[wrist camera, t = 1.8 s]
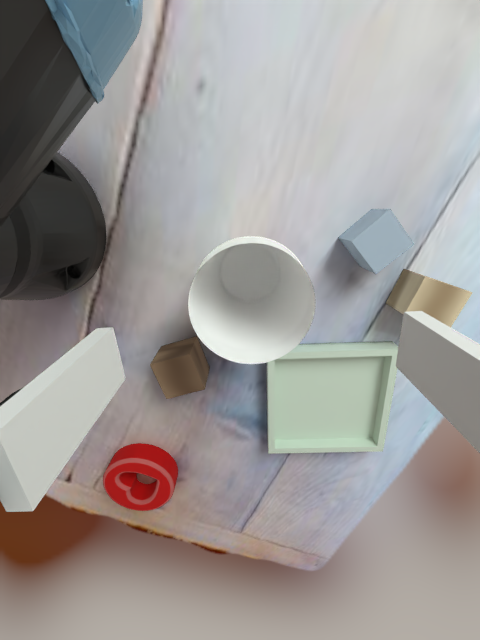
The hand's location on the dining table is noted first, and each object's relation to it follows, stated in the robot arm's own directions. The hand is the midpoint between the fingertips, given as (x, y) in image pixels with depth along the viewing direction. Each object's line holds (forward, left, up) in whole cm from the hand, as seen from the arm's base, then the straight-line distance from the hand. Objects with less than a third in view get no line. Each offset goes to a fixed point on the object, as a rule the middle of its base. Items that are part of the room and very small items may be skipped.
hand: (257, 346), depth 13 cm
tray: (+9, -16, -19) cm, 26 cm away
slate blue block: (+12, +3, -19) cm, 22 cm away
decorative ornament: (-16, -28, -19) cm, 38 cm away
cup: (0, 0, -19) cm, 19 cm away
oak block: (+18, -3, -19) cm, 26 cm away
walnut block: (-8, -10, -19) cm, 23 cm away
